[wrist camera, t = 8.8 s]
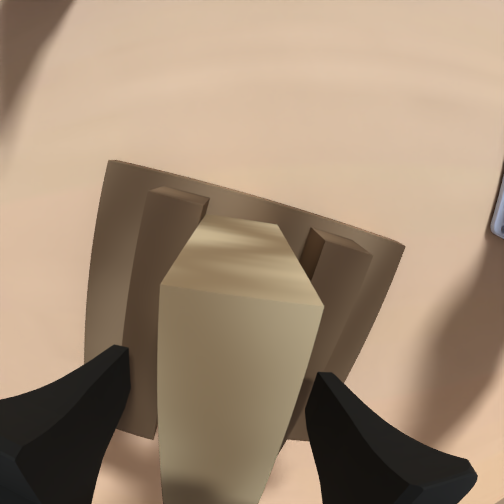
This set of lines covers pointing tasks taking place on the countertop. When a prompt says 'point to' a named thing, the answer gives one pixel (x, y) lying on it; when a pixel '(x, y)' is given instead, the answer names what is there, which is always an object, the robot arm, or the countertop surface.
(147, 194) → the notched stand
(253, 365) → the beige wooden block
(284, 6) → the countertop surface
